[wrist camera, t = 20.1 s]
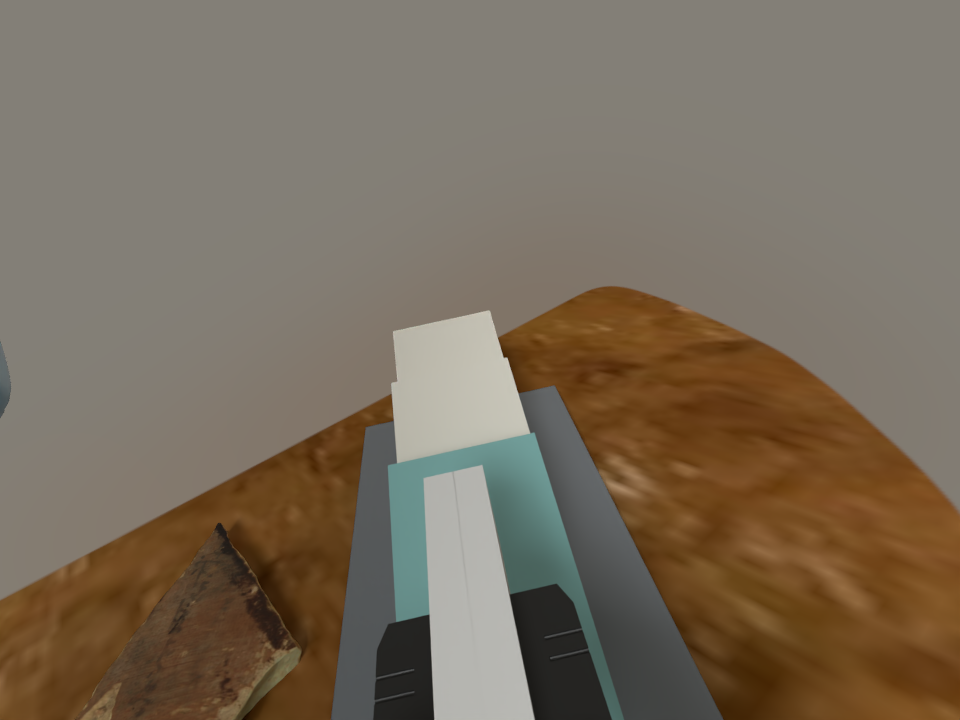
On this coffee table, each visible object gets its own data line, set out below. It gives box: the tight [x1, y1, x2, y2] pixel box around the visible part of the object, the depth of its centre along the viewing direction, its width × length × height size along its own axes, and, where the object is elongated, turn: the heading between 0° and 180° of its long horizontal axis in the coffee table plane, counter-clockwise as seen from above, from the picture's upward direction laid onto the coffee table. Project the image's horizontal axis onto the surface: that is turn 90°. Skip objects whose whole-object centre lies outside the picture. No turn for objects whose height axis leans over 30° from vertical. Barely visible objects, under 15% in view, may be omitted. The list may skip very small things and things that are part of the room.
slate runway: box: [331, 386, 723, 720], centre depth 22 cm, size 12×28×1 cm, turn 8°
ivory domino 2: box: [391, 358, 530, 463], centre depth 24 cm, size 6×2×11 cm
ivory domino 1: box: [393, 311, 504, 382], centre depth 30 cm, size 6×2×11 cm
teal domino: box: [388, 433, 624, 720], centre depth 19 cm, size 6×2×11 cm
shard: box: [75, 523, 302, 720], centre depth 23 cm, size 11×8×2 cm
